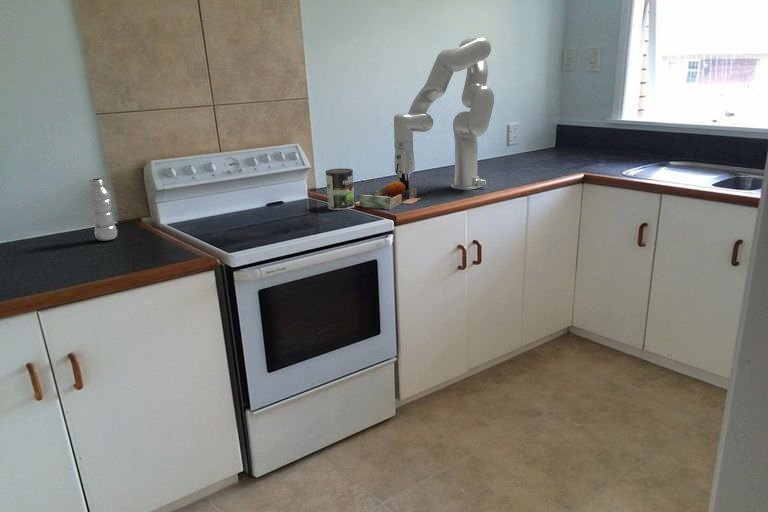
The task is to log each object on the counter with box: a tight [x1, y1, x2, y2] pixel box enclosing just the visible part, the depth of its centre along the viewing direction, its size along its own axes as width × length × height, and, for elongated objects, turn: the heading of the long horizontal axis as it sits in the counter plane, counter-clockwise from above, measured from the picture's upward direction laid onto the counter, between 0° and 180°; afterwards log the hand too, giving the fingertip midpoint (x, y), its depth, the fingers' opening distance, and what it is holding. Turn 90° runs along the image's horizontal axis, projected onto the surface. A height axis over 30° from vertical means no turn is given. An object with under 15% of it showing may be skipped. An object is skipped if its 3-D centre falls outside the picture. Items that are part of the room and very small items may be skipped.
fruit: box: [385, 180, 406, 200], centre depth 235 cm, size 8×8×8 cm
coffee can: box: [325, 168, 355, 211], centre depth 223 cm, size 10×10×14 cm
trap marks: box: [354, 197, 422, 205], centre depth 231 cm, size 21×16×1 cm
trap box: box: [358, 186, 418, 210], centre depth 231 cm, size 13×24×4 cm, turn 152°
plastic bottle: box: [87, 177, 118, 242], centre depth 189 cm, size 6×7×20 cm
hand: (404, 189), depth 243 cm, fingers closed
